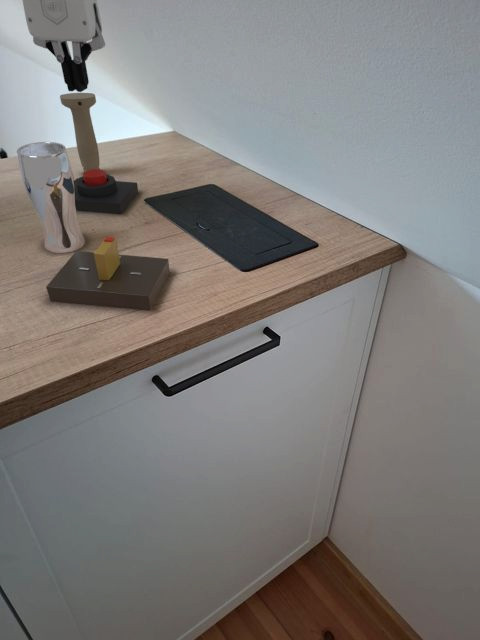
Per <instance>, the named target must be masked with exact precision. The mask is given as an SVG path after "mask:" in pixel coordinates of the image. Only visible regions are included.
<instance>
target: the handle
mask: <svg viewBox="0 0 480 640" xmlns="http://www.w3.org/2000/svg"><path fill="white" fill-rule="evenodd" d="M59 99H60V103H61V105H62V106H64V107H65V108H67V109H69V110H70V113H71V117H72V122H73V128H74V136H75V143H76V149H77V153H78V157H79V161H80V163H81V166H82V169H83V173H84V172H85V171H88V170H93V169H99V170H101V168H100V165H101V164H100V152H99V147H98V140H97V138H96V134H95V133H96V132H95V130H94V126H93V120H92V116H91V110H90V108H92V107H93V106H94V105H96V103H97V99H96V94H95V93H93V92H69V93H64V94H63V93H62V94H60V95H59Z"/></svg>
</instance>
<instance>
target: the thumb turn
mask: <svg viewBox="0 0 480 640" xmlns="http://www.w3.org/2000/svg"><path fill="white" fill-rule="evenodd" d="M94 252H95V253H94V257H95V262H96V267H97V271H98V276H99V280H110V278H111V277H112V275H113V274H114V272H115V271H116V269H117V268H118V266H119V265H120V259H119V255H120V254H119V249H118V243H117V237H116V238H115V237H114V236H105V237H104V239H103V241H102V242H101V243H100V245H99V246H98V247H97V249H96V250H95V251H94Z"/></svg>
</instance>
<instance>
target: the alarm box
mask: <svg viewBox="0 0 480 640" xmlns="http://www.w3.org/2000/svg"><path fill="white" fill-rule="evenodd" d="M106 178H107V183H105V184H102V185H95V186H94V185H86V184H85V183H84V178H83V176H80V177H77V178H75V179H74V182H75V191H76V212H86V213H97V214H98V213H100V214H112V215H123V214H124V212H125V211H126V210H127V208H128V207H129V206H130V204H132V202H133V201H134V200H135V198H137V195H138V194H139V187H138V182H135V181H122V180H121V181H120V180H117V179H116V178H115V177H114V176H112V175H110V174H107V173H106Z"/></svg>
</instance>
